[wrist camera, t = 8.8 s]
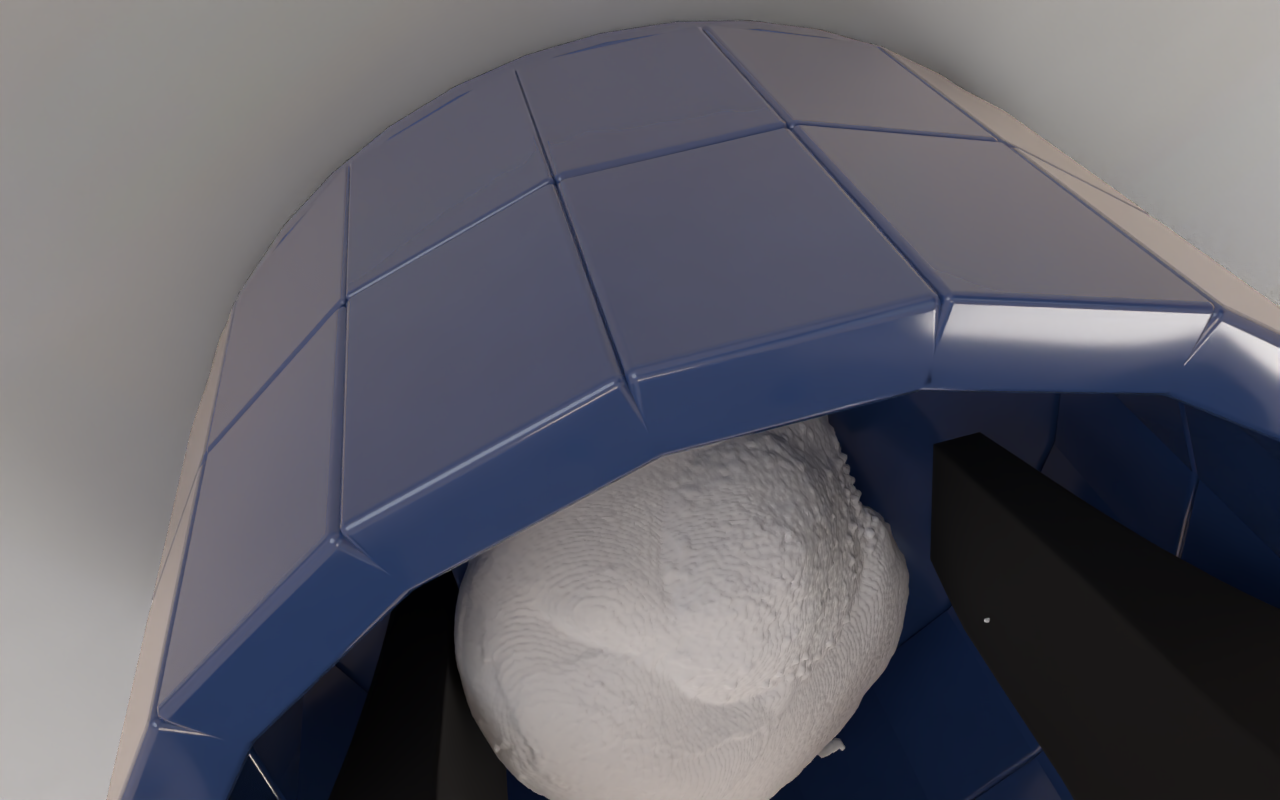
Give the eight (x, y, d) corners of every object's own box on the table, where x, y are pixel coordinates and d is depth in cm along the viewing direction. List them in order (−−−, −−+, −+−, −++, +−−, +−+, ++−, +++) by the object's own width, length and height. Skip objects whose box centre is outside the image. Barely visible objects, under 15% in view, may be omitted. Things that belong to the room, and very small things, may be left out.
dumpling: (335, 486, 13) (322, 663, 10) (637, 202, 13) (743, 273, 9) (680, 769, 16) (771, 989, 12) (933, 542, 16) (1103, 699, 12)
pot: (1150, -91, 11) (1735, 97, 6) (1050, 643, 18) (1288, 986, 14) (-4, 165, 10) (-328, 612, 5) (372, 832, 18) (375, 1273, 13)
